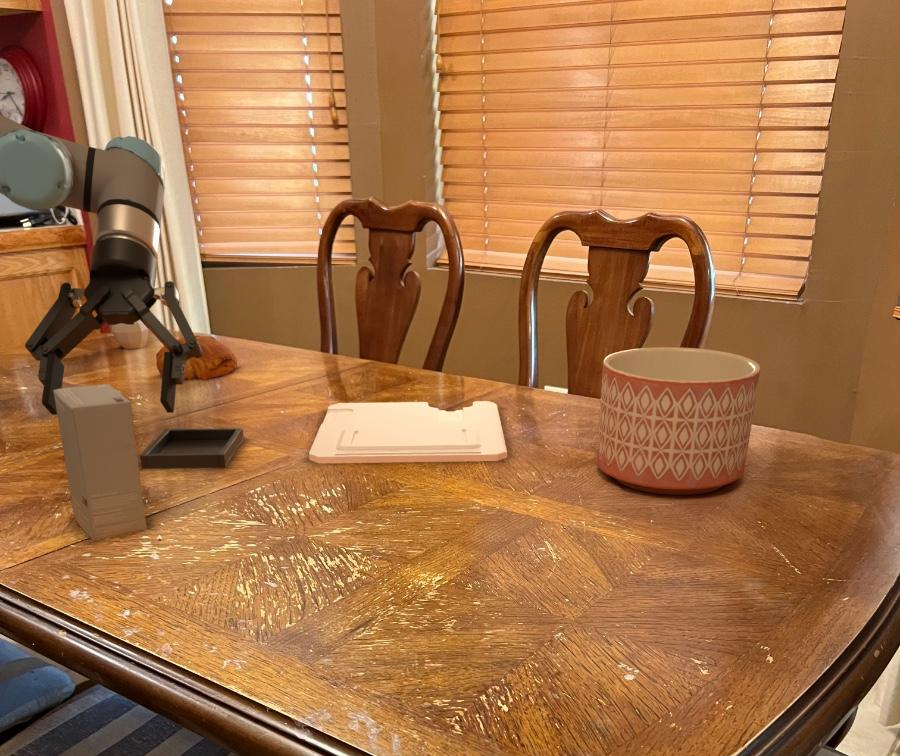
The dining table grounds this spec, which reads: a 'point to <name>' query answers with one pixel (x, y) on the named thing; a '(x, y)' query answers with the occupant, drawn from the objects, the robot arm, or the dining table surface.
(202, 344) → the croissant
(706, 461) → the planter
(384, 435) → the tray
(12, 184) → the robot arm
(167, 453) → the pad
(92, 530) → the cosmetic box
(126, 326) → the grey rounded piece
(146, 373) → the dining table surface
